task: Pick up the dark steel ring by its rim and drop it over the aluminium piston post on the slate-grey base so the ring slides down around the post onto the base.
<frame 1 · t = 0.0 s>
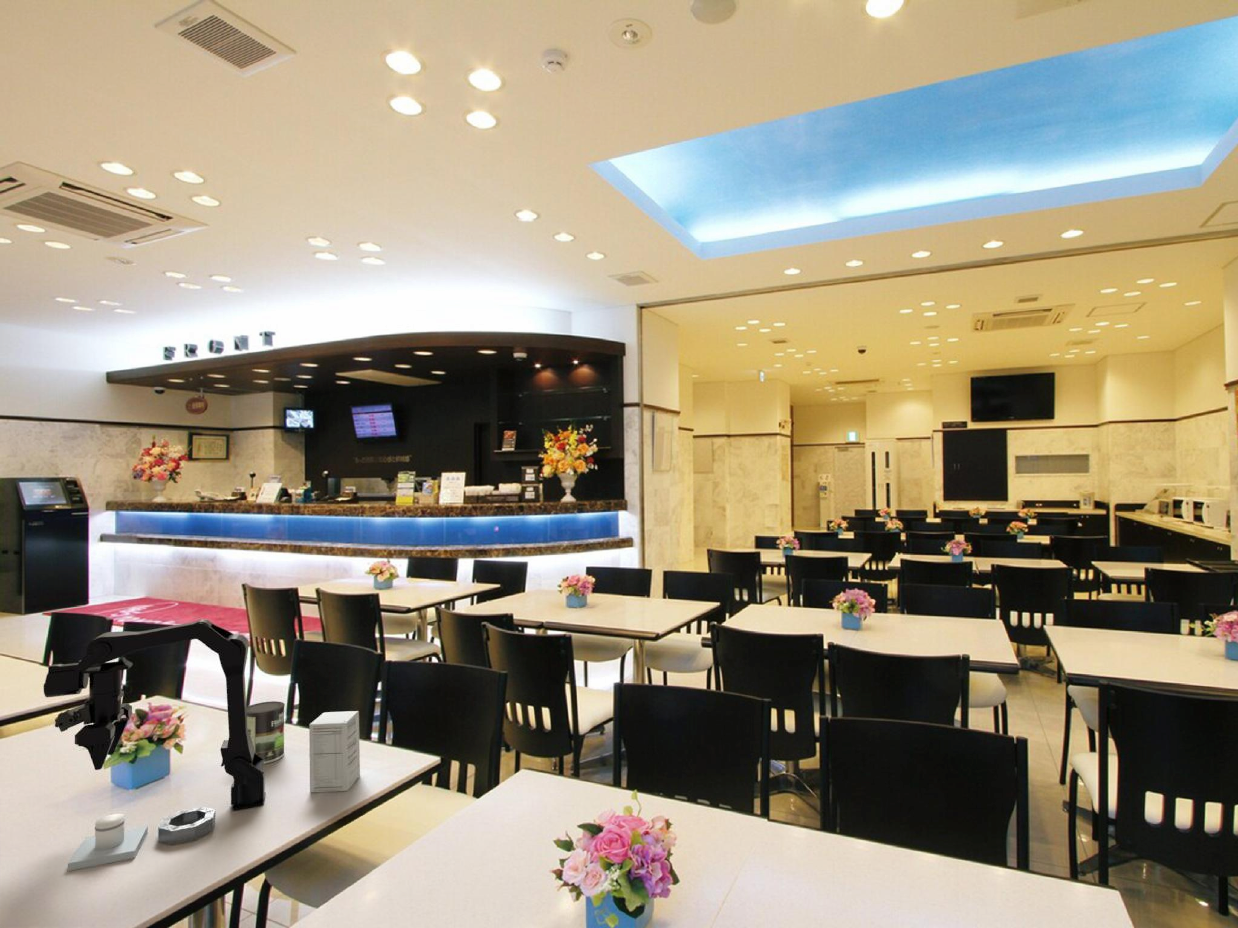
hand: (104, 761, 150), 15 cm above the table, fingers open, 9 cm apart
supplement box: (335, 784, 170), on the table
coffee can: (263, 758, 188), on the table
piston base: (109, 850, 140), on the table
steel ring: (187, 832, 147), on the table
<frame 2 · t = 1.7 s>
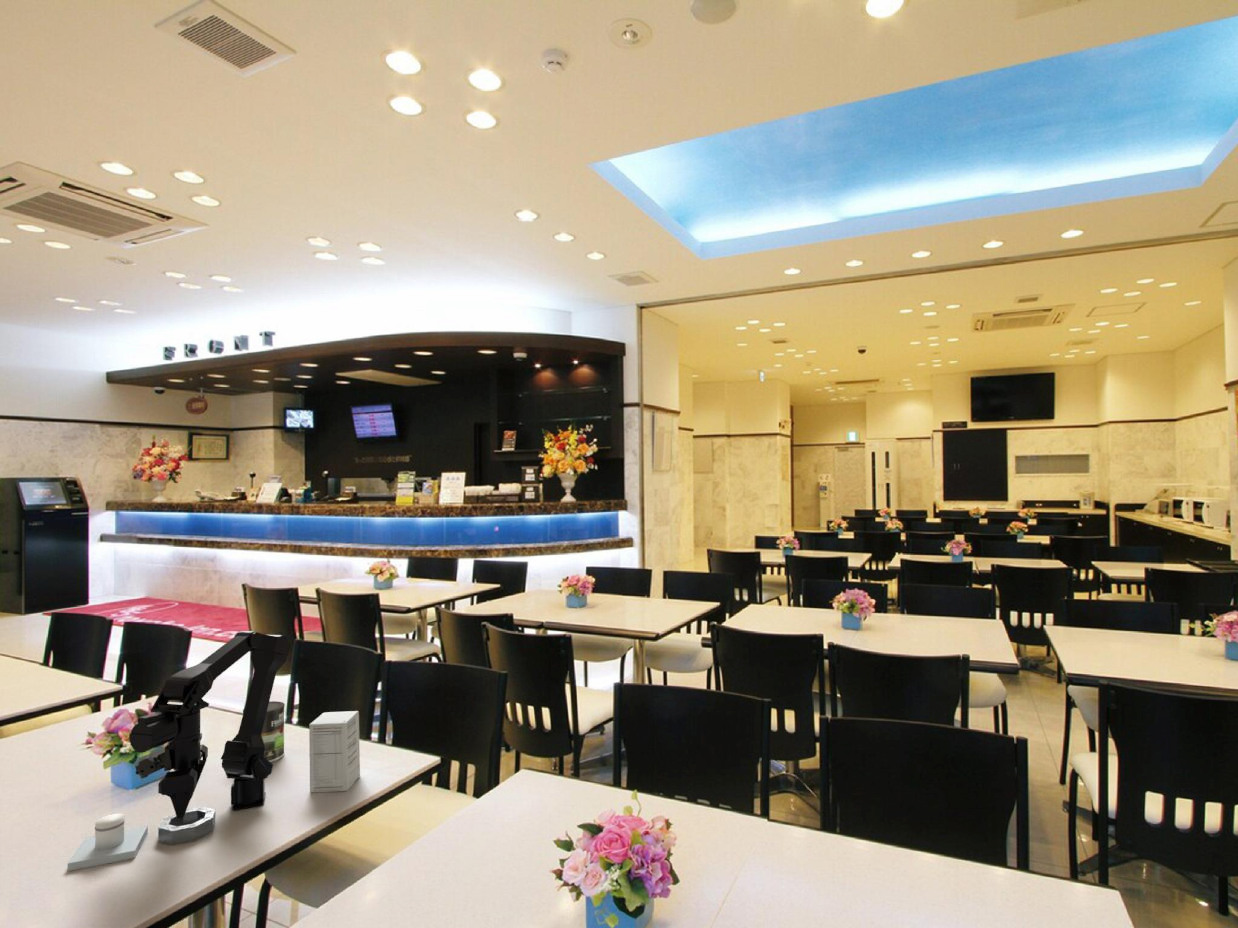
hand: (184, 807, 144), 7 cm above the table, fingers open, 9 cm apart
nothing on the table moved.
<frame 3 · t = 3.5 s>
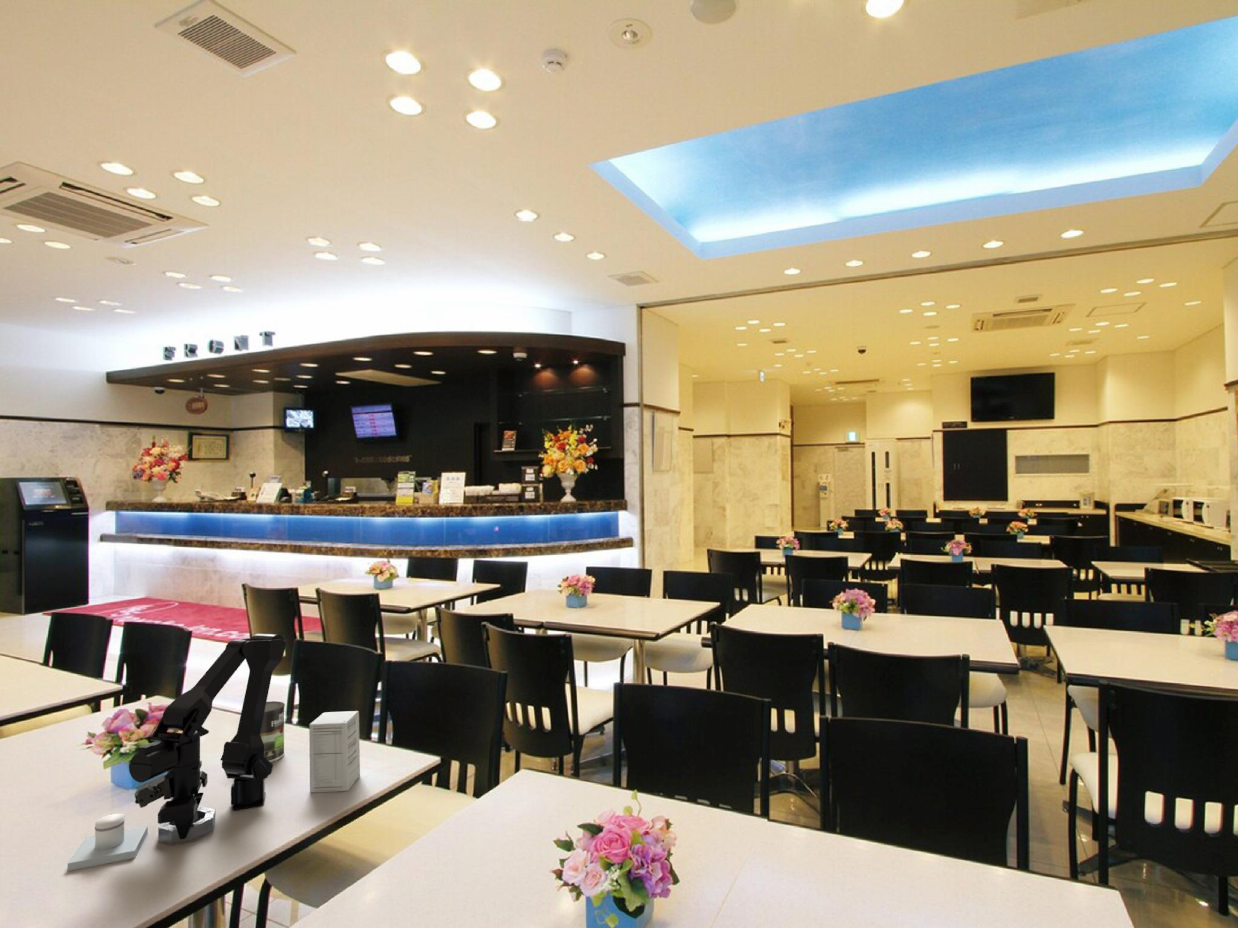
hand: (184, 836, 144), 1 cm above the table, fingers closed on steel ring, 2 cm apart
steel ring: (187, 832, 147), on the table, touching gripper
everything else where it was.
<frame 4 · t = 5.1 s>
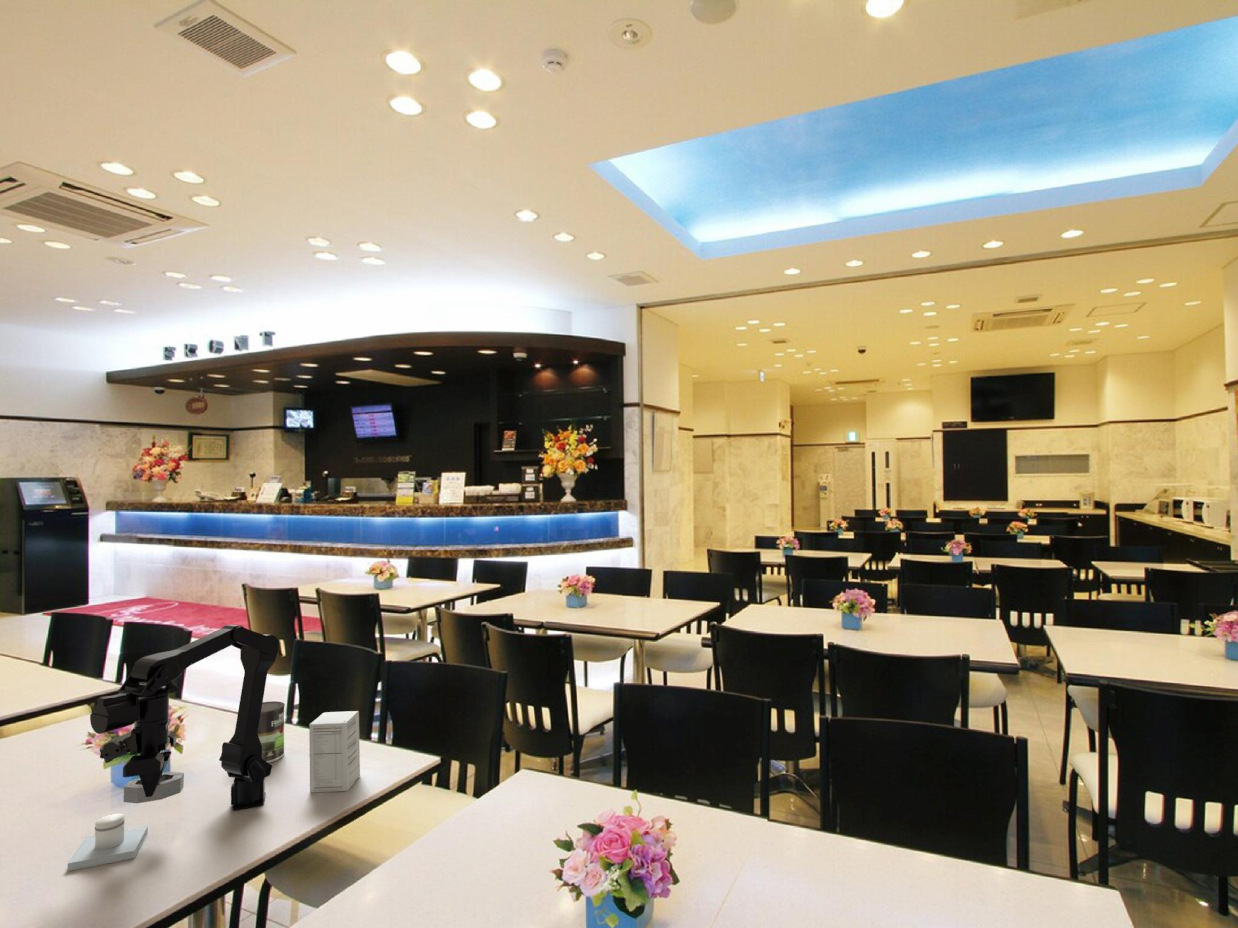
hand: (150, 794, 141), 11 cm above the table, fingers closed on steel ring
steel ring: (154, 794, 144), point 10 cm above the table, tilted 6°, touching gripper
everything else where it was.
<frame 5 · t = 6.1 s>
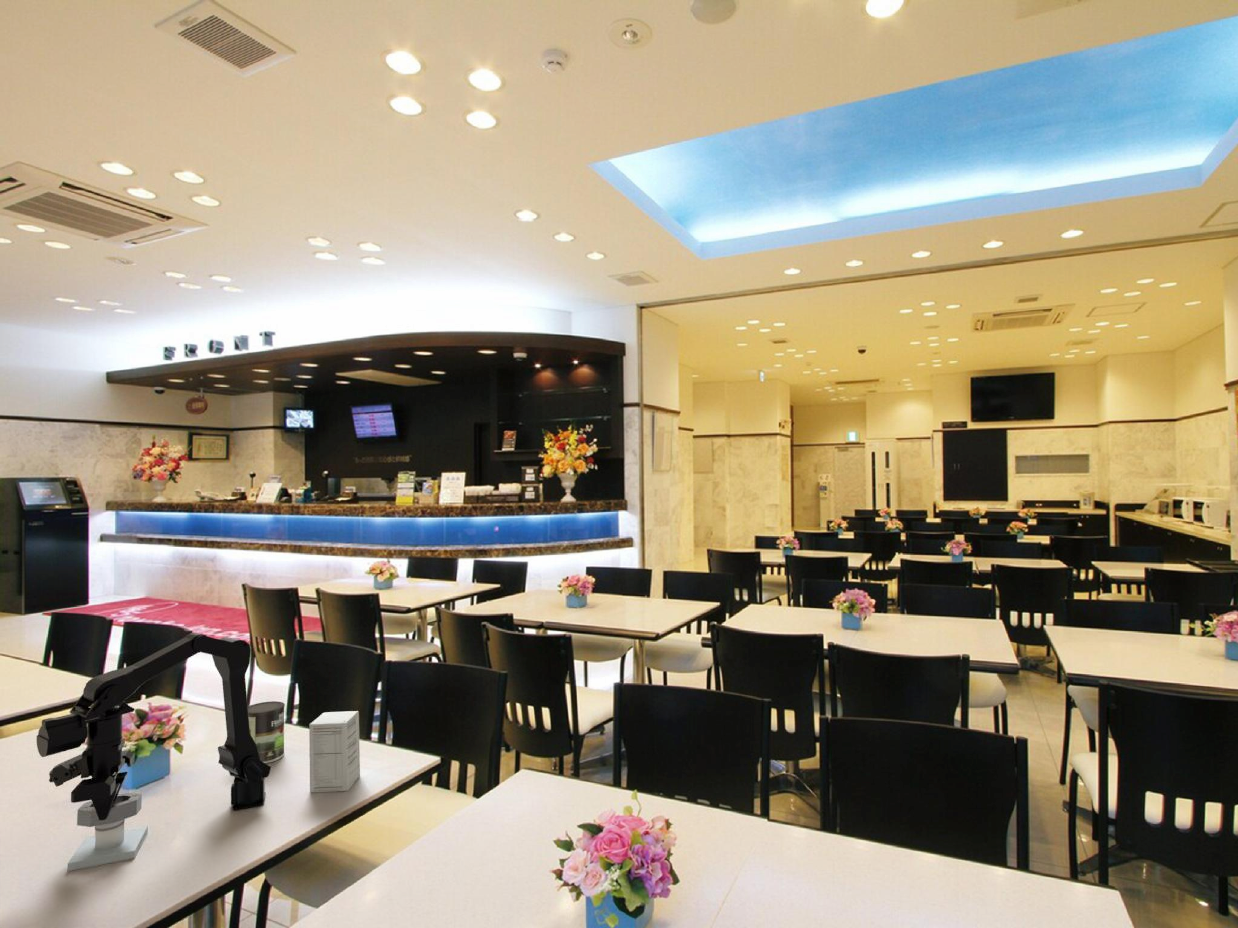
hand: (104, 817, 137), 9 cm above the table, fingers closed on steel ring
steel ring: (110, 816, 140), point 7 cm above the table, tilted 7°, touching gripper
everything else where it was.
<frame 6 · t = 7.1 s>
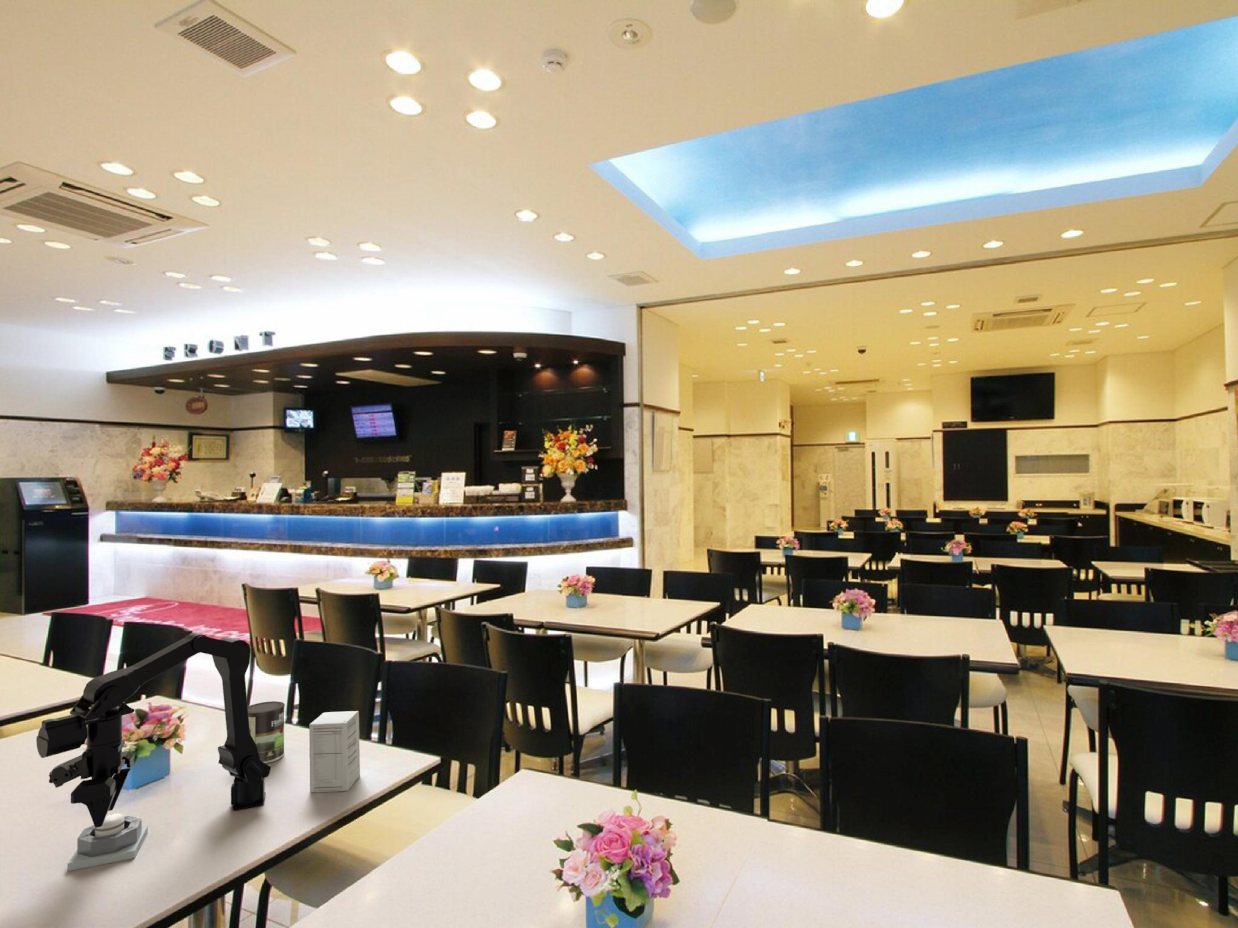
hand: (104, 818, 137), 8 cm above the table, fingers open, 7 cm apart
steel ring: (110, 842, 141), point 1 cm above the table, touching piston base
everything else where it was.
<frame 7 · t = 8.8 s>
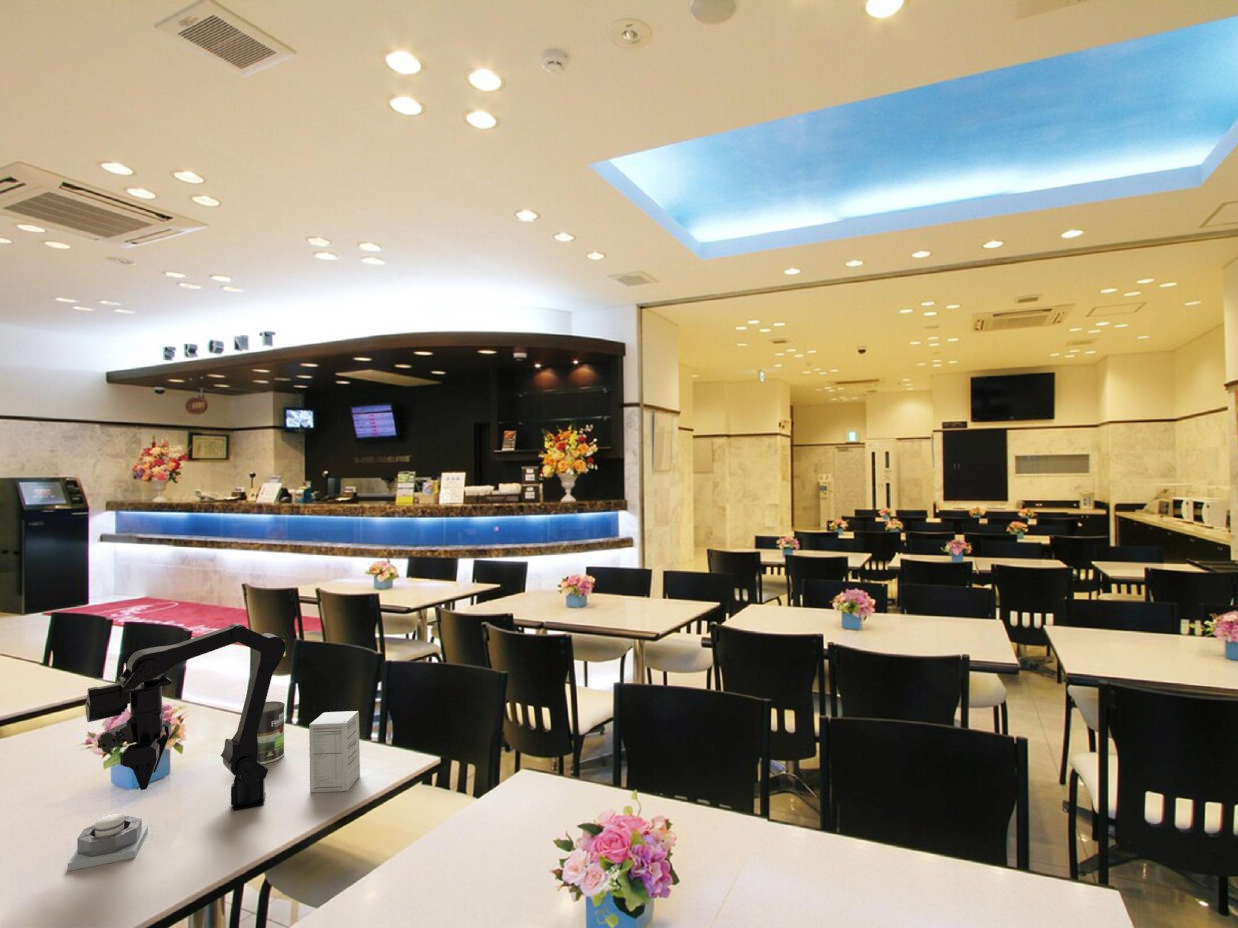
hand: (148, 780, 147), 11 cm above the table, fingers open, 9 cm apart
nothing on the table moved.
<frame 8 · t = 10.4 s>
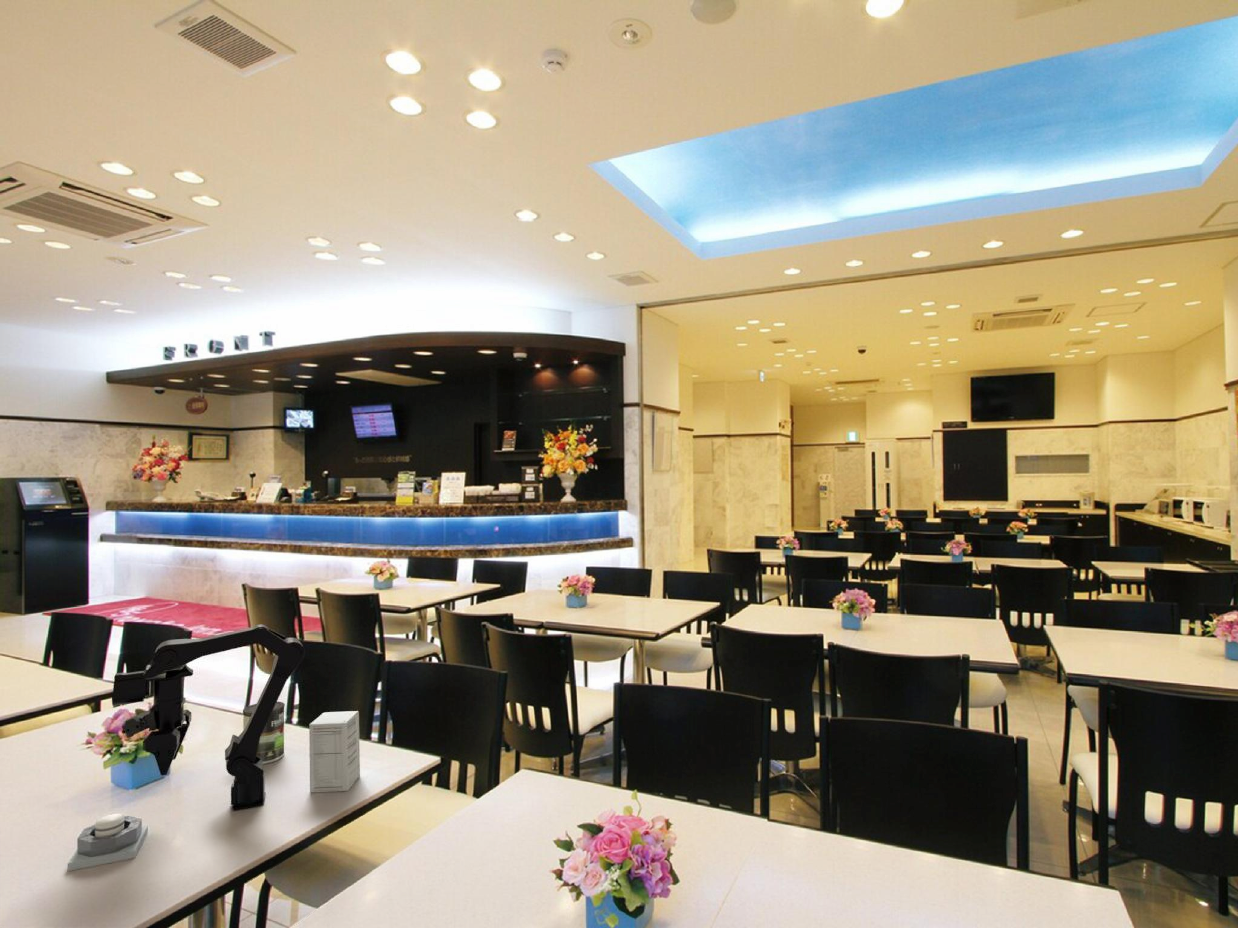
hand: (168, 766, 153), 12 cm above the table, fingers open, 9 cm apart
nothing on the table moved.
at the end: steel ring 0.3 cm off-centre on the piston base, point 1.5 cm above the piston base's base; the gripper is holding nothing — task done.
